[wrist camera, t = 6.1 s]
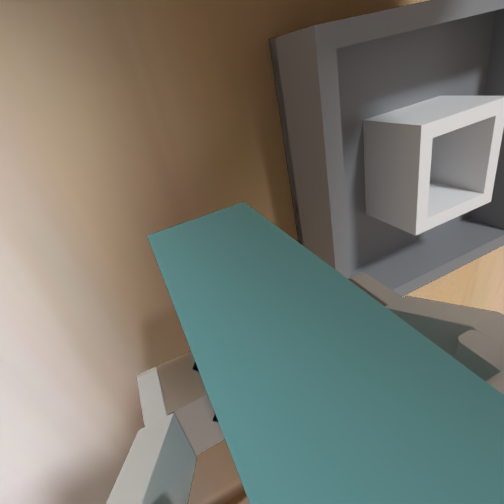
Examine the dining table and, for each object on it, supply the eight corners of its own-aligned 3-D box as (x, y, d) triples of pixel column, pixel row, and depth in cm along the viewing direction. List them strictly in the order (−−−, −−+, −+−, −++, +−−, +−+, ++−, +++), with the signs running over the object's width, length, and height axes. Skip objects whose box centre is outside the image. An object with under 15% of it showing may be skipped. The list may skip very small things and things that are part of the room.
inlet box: (268, 39, 20) (326, 21, 15) (498, -11, 26) (597, -37, 21) (306, 295, 30) (348, 335, 25) (467, 221, 35) (528, 242, 30)
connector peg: (146, 235, 12) (364, 800, 3) (243, 201, 13) (661, 512, 4) (179, 315, 14) (368, 802, 5) (260, 280, 16) (558, 616, 6)
